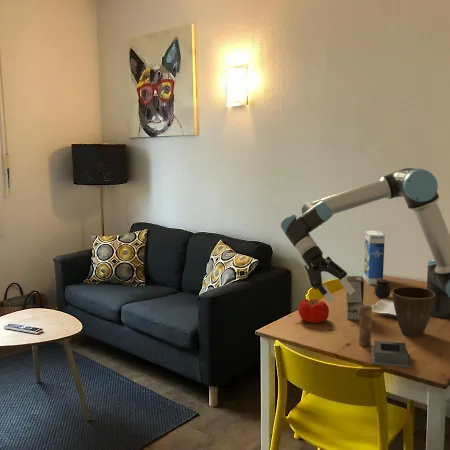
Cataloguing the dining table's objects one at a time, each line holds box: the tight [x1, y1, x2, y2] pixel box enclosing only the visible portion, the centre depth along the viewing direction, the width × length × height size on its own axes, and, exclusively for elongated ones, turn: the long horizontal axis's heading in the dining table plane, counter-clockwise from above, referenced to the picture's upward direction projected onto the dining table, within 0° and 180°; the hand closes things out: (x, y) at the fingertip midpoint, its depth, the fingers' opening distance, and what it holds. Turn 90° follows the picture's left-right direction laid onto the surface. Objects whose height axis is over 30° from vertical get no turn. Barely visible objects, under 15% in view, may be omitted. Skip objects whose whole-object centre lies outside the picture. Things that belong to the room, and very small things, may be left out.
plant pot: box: [391, 286, 435, 338], centre depth 184 cm, size 15×15×16 cm
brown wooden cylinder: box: [358, 304, 373, 348], centre depth 175 cm, size 4×4×14 cm
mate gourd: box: [374, 276, 392, 299], centre depth 230 cm, size 7×8×10 cm
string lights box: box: [363, 230, 386, 286], centre depth 255 cm, size 13×8×26 cm, turn 174°
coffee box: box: [346, 275, 365, 321], centre depth 204 cm, size 9×6×16 cm
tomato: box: [297, 298, 330, 324], centre depth 200 cm, size 13×12×8 cm
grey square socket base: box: [370, 340, 412, 369], centre depth 164 cm, size 12×12×4 cm
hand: (342, 297), depth 179 cm, fingers open, 13 cm apart
